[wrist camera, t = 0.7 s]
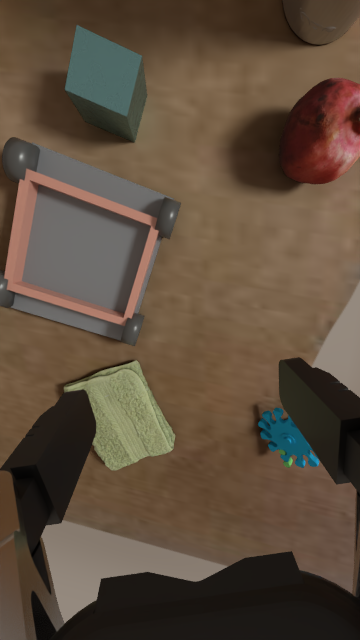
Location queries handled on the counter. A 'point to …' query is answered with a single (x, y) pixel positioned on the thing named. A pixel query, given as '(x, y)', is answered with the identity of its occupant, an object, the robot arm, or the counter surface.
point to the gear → (286, 439)
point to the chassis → (80, 242)
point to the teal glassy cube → (106, 84)
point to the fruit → (322, 133)
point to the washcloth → (125, 416)
